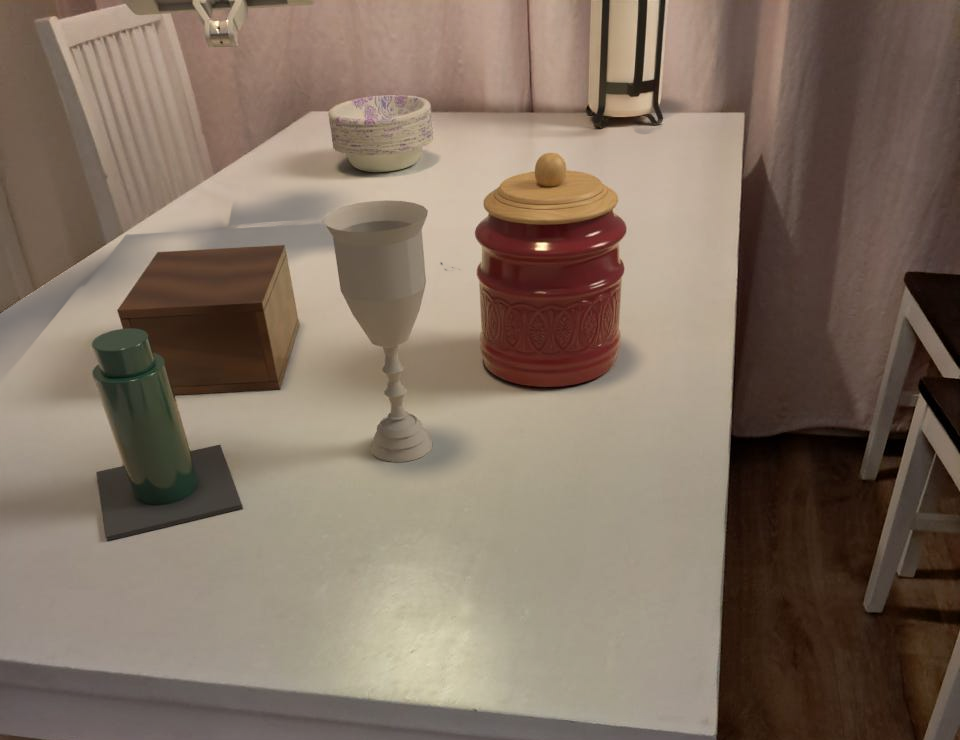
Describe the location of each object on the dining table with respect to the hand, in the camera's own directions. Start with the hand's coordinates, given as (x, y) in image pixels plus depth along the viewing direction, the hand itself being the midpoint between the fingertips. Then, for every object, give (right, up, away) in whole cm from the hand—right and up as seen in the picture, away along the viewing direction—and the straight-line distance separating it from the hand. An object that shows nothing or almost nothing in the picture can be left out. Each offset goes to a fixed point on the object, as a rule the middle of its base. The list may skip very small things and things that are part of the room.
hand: (221, 42), depth 94 cm
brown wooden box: (+1, -33, -3) cm, 33 cm away
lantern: (+51, +26, +60) cm, 83 cm away
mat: (+2, -49, -21) cm, 54 cm away
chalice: (+20, -45, -18) cm, 52 cm away
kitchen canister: (+33, -34, -7) cm, 48 cm away
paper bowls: (+12, +12, +47) cm, 50 cm away
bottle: (+2, -49, -22) cm, 53 cm away
